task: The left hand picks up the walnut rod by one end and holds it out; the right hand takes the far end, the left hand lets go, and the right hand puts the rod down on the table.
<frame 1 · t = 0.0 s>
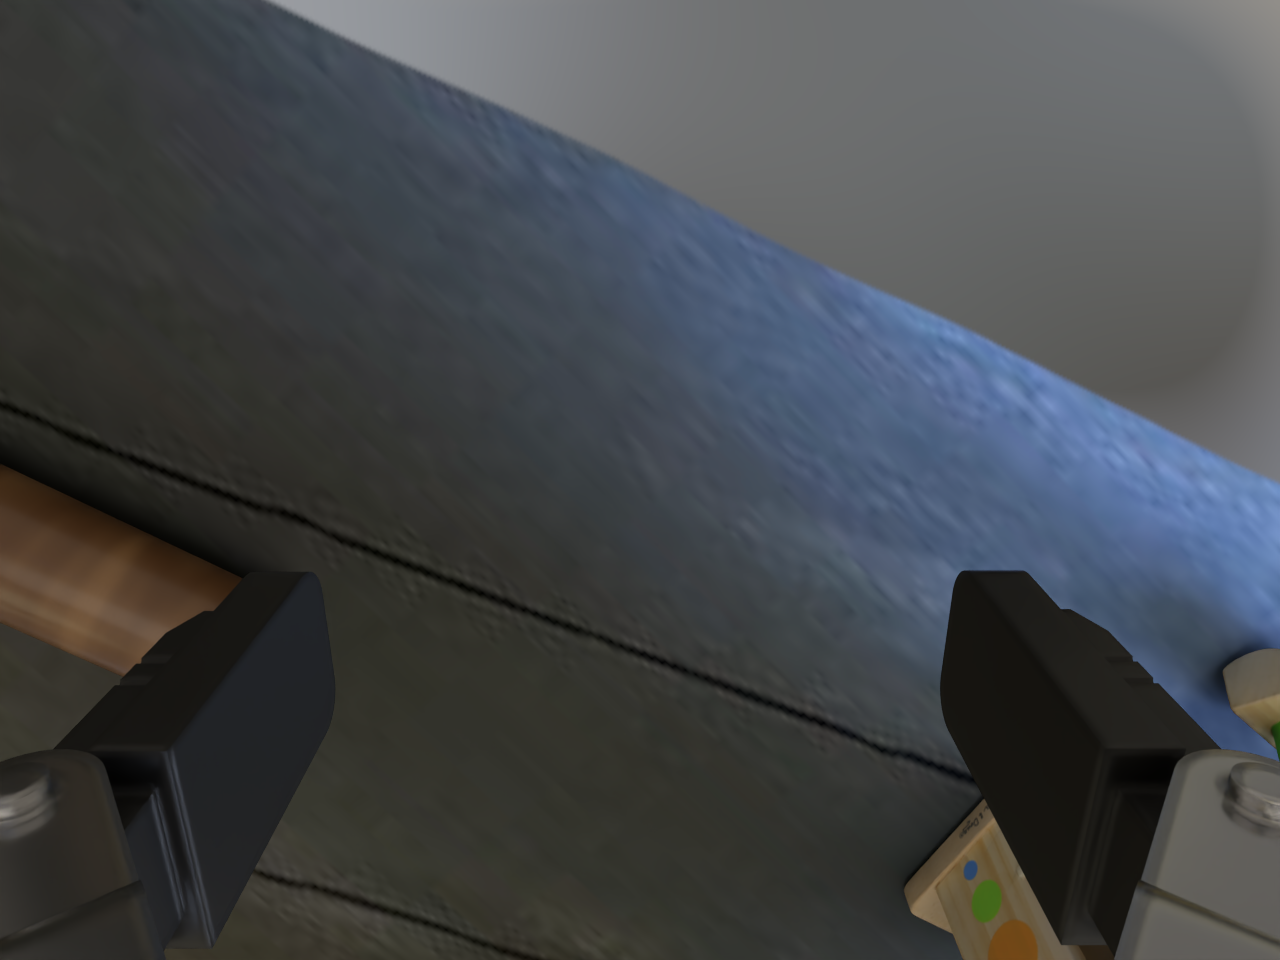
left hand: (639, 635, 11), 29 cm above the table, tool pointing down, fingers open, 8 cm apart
rod: (26, 507, 42), on the table
pounding bench toy: (1127, 801, 49), on the table
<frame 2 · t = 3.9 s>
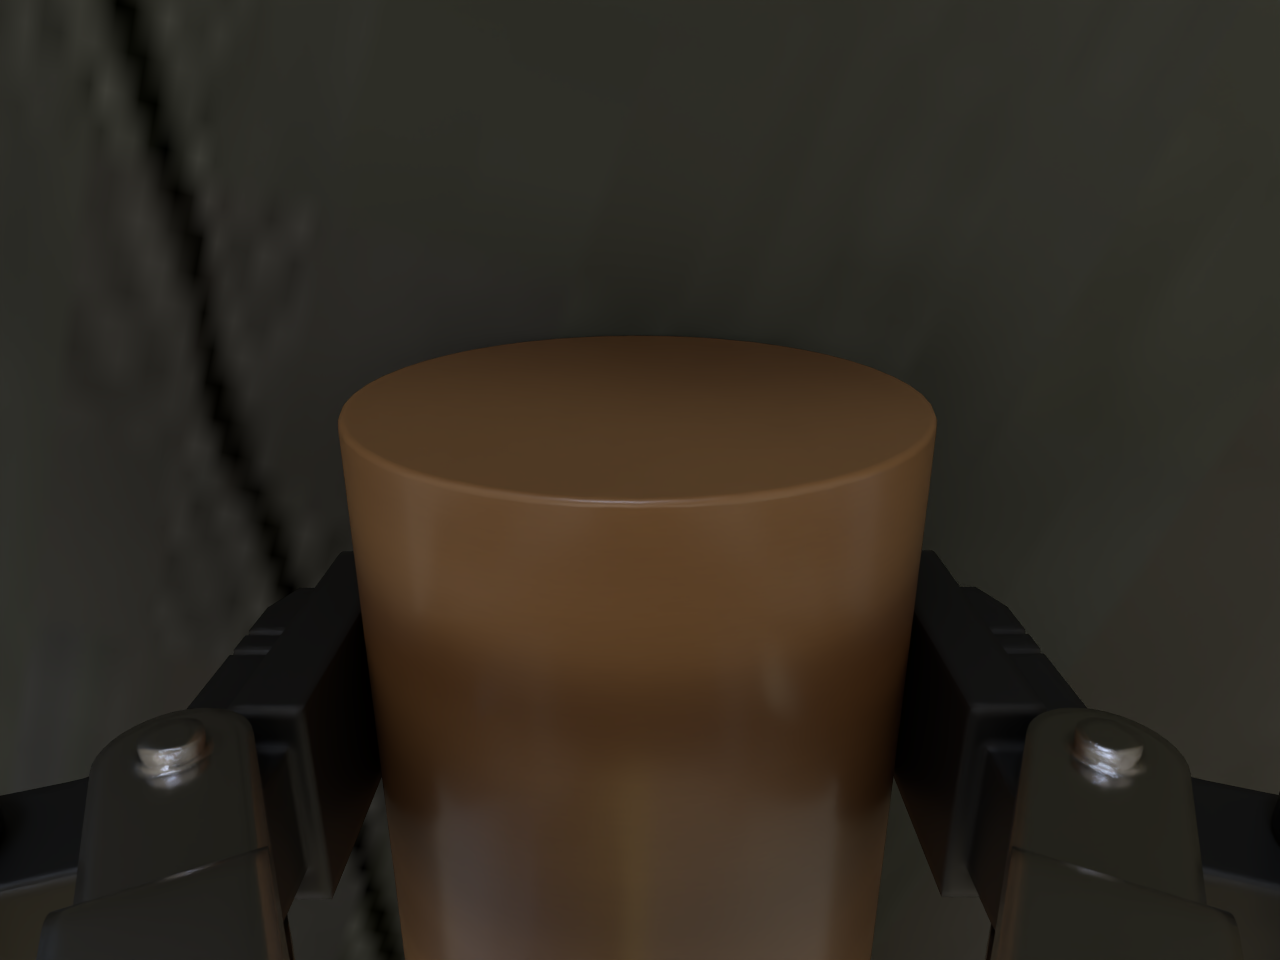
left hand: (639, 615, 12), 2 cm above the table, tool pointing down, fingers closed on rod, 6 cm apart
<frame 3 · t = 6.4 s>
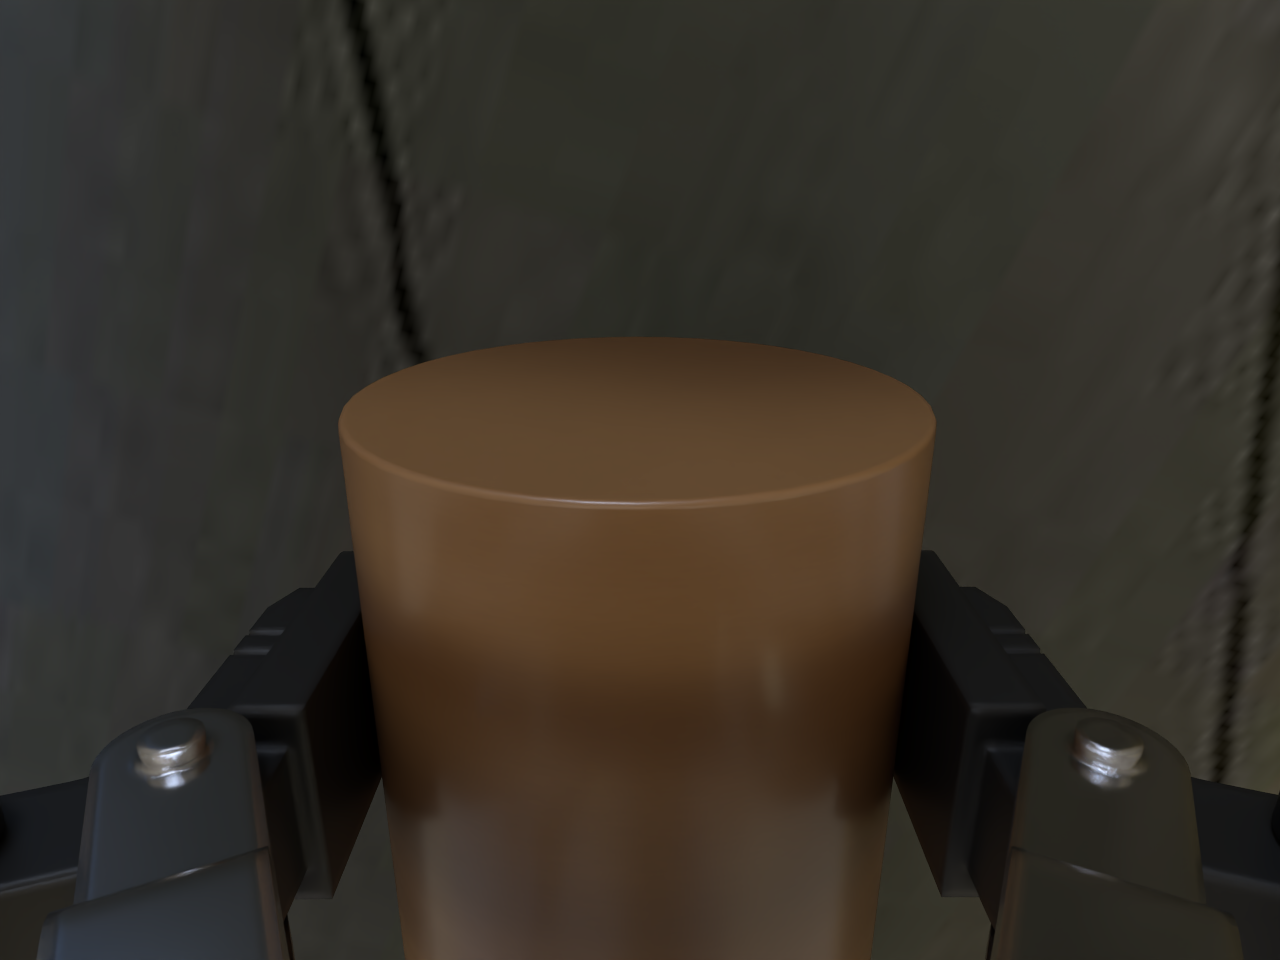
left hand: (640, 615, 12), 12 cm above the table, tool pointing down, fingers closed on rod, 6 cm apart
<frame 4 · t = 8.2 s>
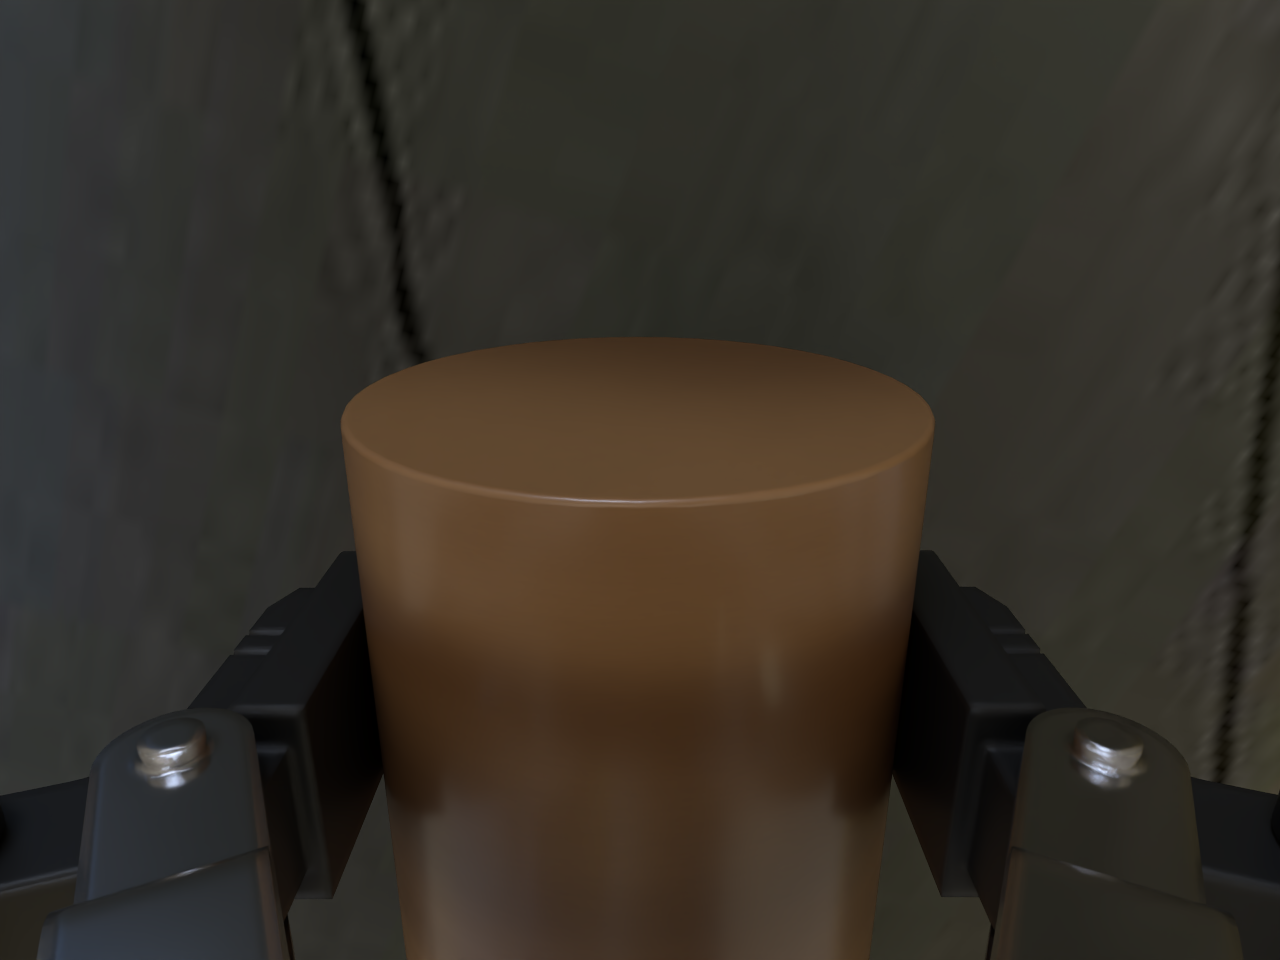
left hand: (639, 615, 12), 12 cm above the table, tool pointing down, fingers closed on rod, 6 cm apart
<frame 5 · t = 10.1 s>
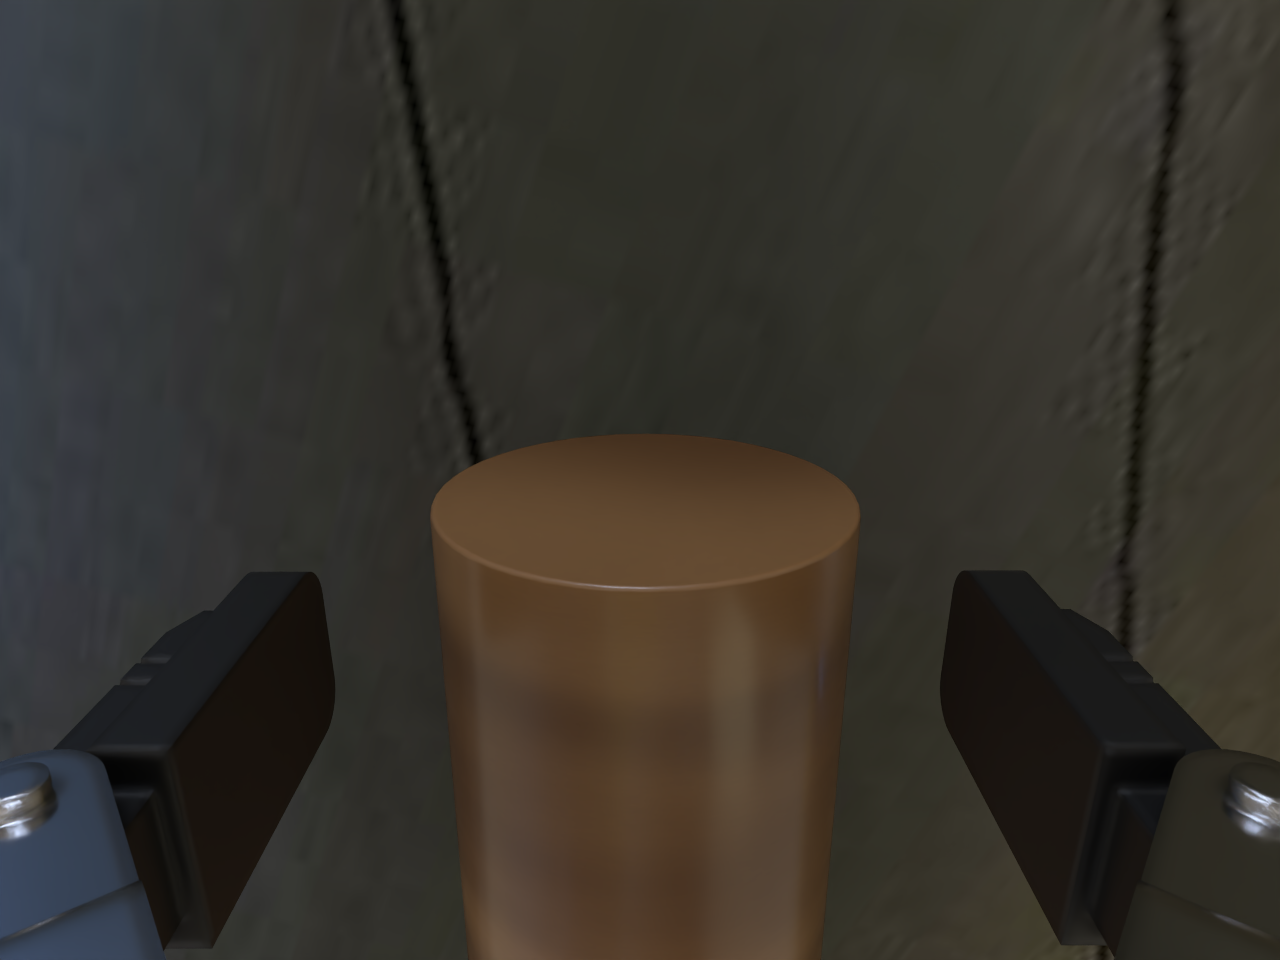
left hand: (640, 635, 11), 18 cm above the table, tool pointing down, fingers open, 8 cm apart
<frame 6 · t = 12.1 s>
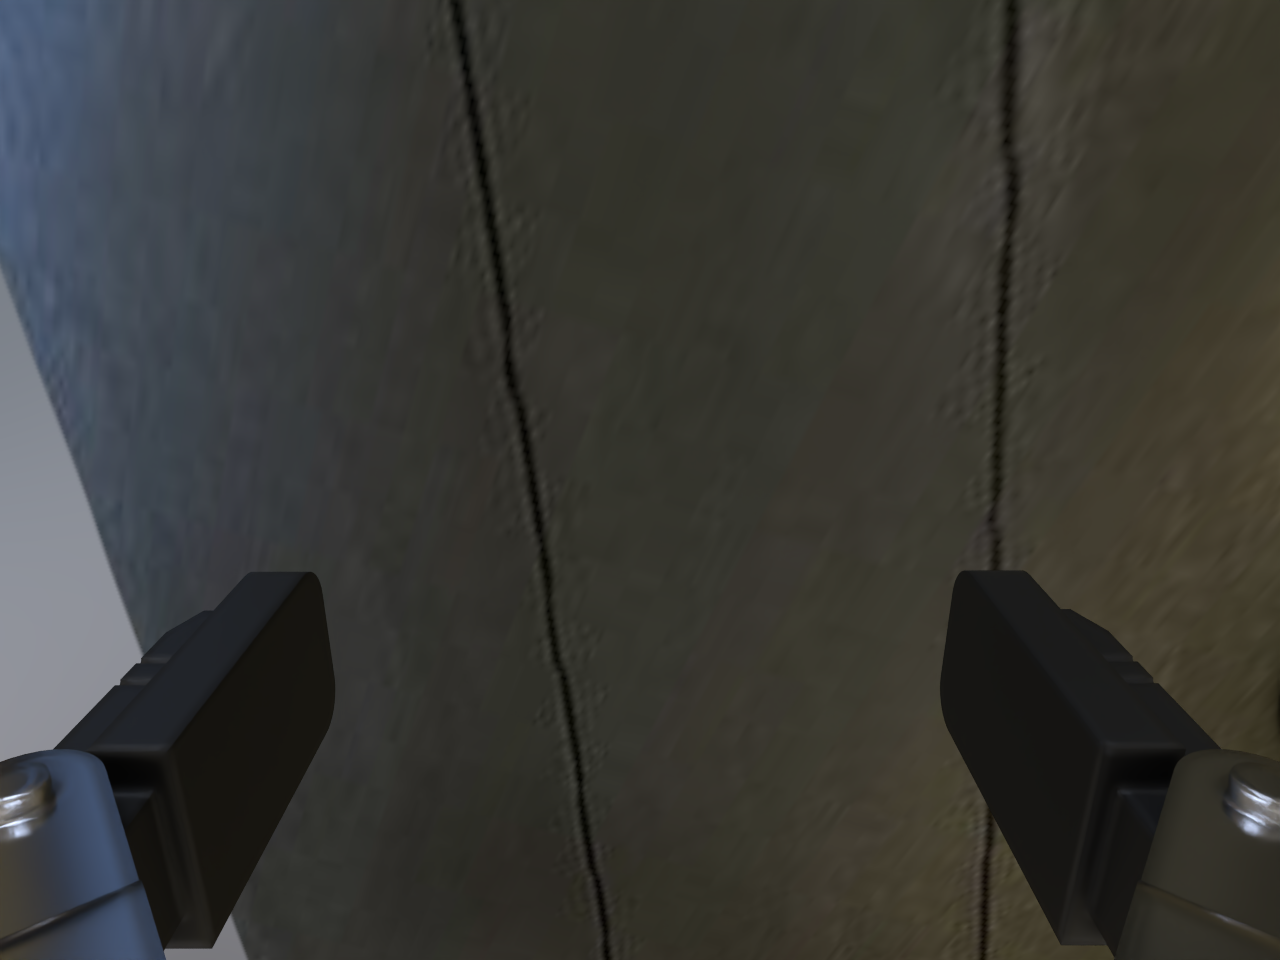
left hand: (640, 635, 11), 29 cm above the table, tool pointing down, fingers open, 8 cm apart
when the right hand's fingers open (4 cm above the table, at t = 13.7 s): rod stays where it is, on the table.
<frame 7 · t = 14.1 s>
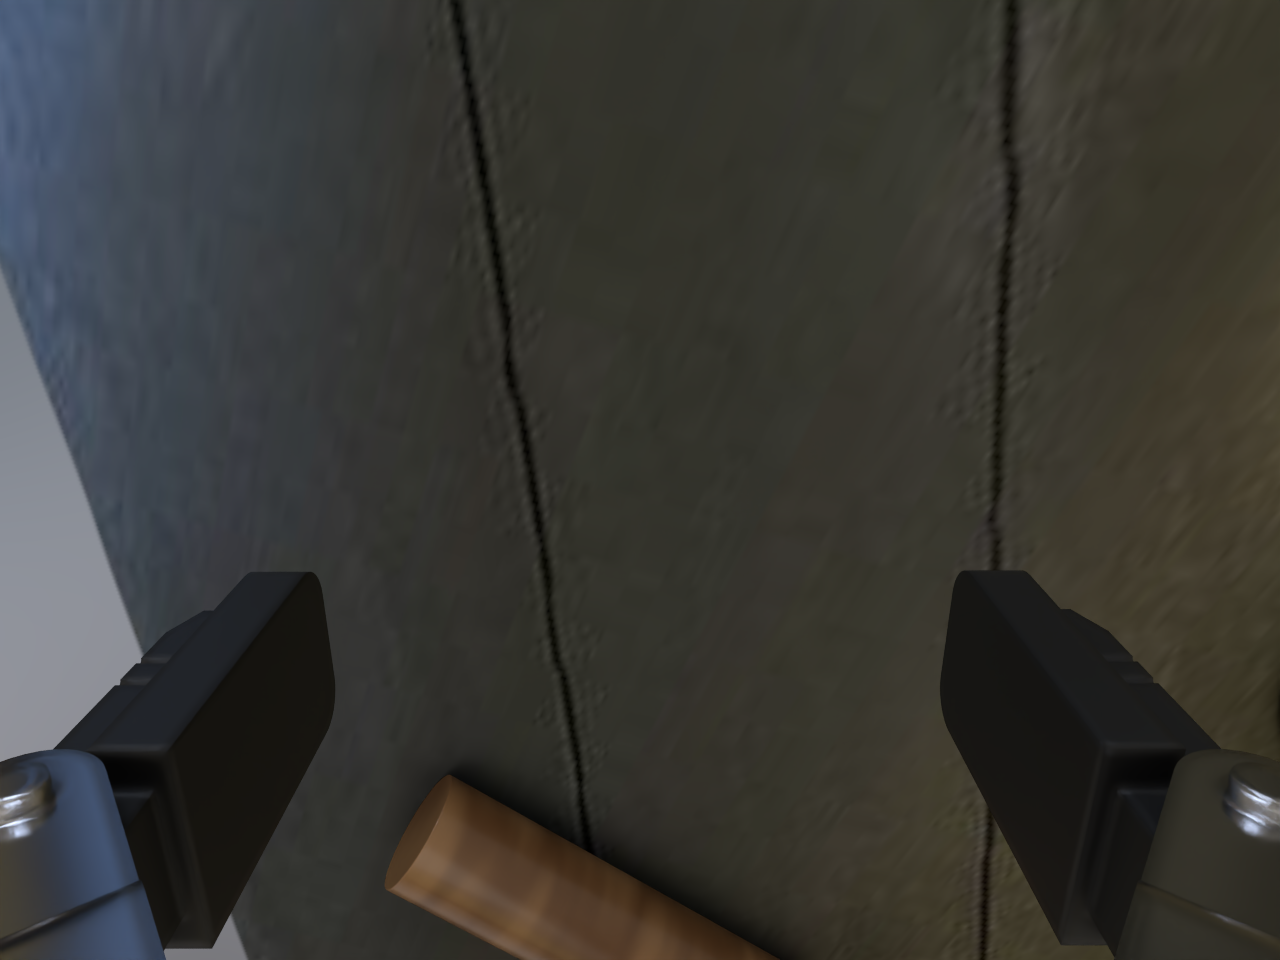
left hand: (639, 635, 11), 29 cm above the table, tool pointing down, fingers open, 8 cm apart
rod: (619, 893, 51), on the table
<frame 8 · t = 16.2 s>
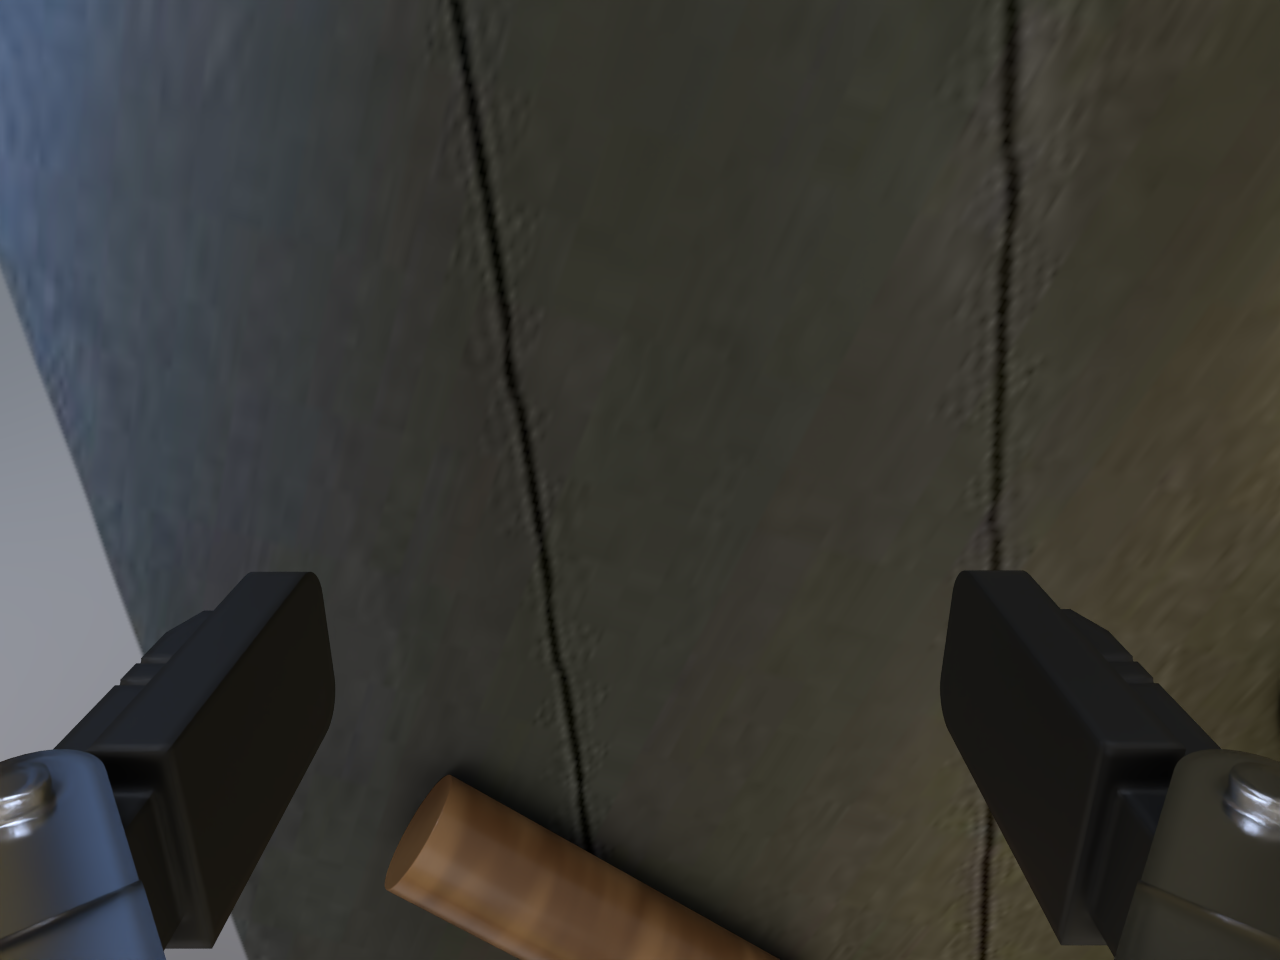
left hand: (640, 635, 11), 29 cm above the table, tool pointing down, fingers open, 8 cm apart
rod: (619, 893, 51), on the table
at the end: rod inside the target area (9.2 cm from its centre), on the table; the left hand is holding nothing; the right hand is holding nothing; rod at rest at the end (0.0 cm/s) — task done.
